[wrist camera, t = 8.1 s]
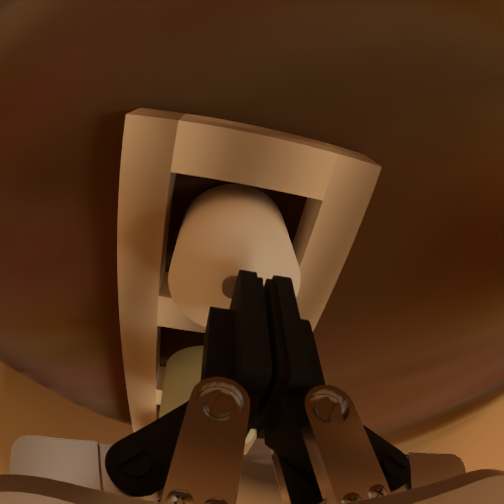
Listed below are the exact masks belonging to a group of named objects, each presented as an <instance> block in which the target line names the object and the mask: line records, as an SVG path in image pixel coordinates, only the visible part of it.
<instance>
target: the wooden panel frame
mask: <svg viewBox="0 0 504 504" xmlns="http://www.w3.org/2000/svg"><path fill="white" fill-rule="evenodd" d="M381 168H382V167H381V166H380V165H378V164H377V163H376V162H374V161H373V160H372V159H370V158H369V157H367V156H366V155H365V154H362V153H359V152H356V151H353V150H349V149H346V148H342V147H339V146H335V145H332V144H328V143H325V142H321V141H317V140H314V139H310V138H306V137H302V136H298V135H294V134H290V133H286V132H281V131H277V130H273V129H268V128H264V127H259V126H254V125H249V124H244V123H239V122H234V121H229V120H223V119H217V118H212V117H206V116H199V115H193V114H186V113H179V112H172V111H164V110H156V109H147V108H139V109H136V110H134V111H132V112H130V113H127V114H126V117H125V125H124V134H123V143H122V154H121V165H120V179H119V196H118V224H117V273H118V301H119V319H120V332H121V344H122V355H123V364H124V373H125V381H126V389H127V396H128V403H129V409H130V415H131V421H132V427H133V432H136V431H138V430H139V429H141V428H143V427H145V426H146V425H148V424H150V423H152V422H153V421H155V420H157V419H159V405H160V404H161V397H162V390H163V382H164V375H165V369H166V367H165V366H160V342H161V326H162V327H168V328H174V329H181V330H188V331H195V332H202V333H205V331H206V327H204V326H201V325H199V324H197V323H195V322H194V321H192V320H191V319H189V318H188V317H187V316H186V315H184V314H183V313H182V312H181V310H180V309H179V308H178V307H177V305H176V304H175V302H174V301H173V299H172V297H171V294H170V291H169V285H168V274H169V272H166V271H165V265H166V254H167V244H168V234H169V225H170V217H171V208H172V200H173V193H174V185H175V178H176V173H180V174H186V175H193V176H199V177H205V178H211V179H217V180H222V181H228V182H234V183H239V184H244V185H250V186H255V187H260V188H265V189H270V190H275V191H280V192H285V193H290V194H295V195H300V196H304V197H307V200H306V203H305V206H304V209H303V212H302V215H301V219H300V222H299V225H298V228H297V231H296V234H295V237H294V240H293V243H292V246H293V250H294V253H295V256H296V259H297V262H298V265H299V269H300V274H301V282H300V288H299V292H298V295H297V297H296V300H297V305H298V309H299V314H300V318H301V319H306V320H309V321H310V324H311V327H312V332H313V331H314V329H315V327H316V325H317V323H318V320H319V318H320V316H321V314H322V312H323V310H324V308H325V306H326V303H327V301H328V299H329V297H330V295H331V292H332V290H333V288H334V286H335V284H336V281H337V279H338V277H339V274H340V272H341V270H342V268H343V265H344V263H345V261H346V258H347V256H348V254H349V251H350V249H351V246H352V244H353V241H354V239H355V237H356V234H357V232H358V229H359V227H360V224H361V222H362V219H363V217H364V214H365V211H366V209H367V206H368V204H369V201H370V198H371V196H372V193H373V190H374V188H375V185H376V182H377V179H378V177H379V174H380V171H381ZM254 431H255V433H254V437H253V438H252V440H251V441H249V442H248V443H247V444H245V447H244V454H243V455H246V454H247V452H248V451H249V449H250V447H251V446H252V444H253V442H254V441H255V439H256V437H257V433H256V429H254Z"/></svg>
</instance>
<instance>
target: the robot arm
mask: <svg viewBox="0 0 504 504" xmlns="http://www.w3.org/2000/svg"><path fill="white" fill-rule="evenodd" d="M251 429H256V433H257V438H264V439H265V444H266V445H267V446H268V447H269V448H271V457H272V461H273V465H274V469H275V473H276V477H277V481H278V485H279V488H280V492H281V496H282V500H283V503H284V504H504V471H501V470H495V469H482V470H476V471H471V472H468V473H466V471H465V466H464V463H463V462H462V460H461V459H460V458H459V457H457V456H456V455H453V454H436V453H414V452H409V453H408V454H404V453H403V452H401V451H400V450H399V449H397V448H396V447H394V446H393V445H391V444H390V443H389V442H387V441H386V440H384V439H383V438H381V437H380V436H378V435H377V434H375V433H374V432H373V431H371V430H370V429H368V428H367V427H366V426H364V425H363V424H362V422H361V420H360V417H359V415H358V413H357V410H356V408H355V406H354V404H353V402H352V400H351V398H350V397H349V396H348V395H347V394H346V393H345V392H344V391H342V390H341V389H339V388H337V387H334V386H330V385H325V382H324V377H323V373H322V369H321V365H320V360H319V356H318V352H317V348H316V344H315V340H314V336H313V332H312V327H311V324H310V321H309V320H306V319H301V318H300V314H299V309H298V305H297V300H296V296H295V292H294V287H293V283H292V279H291V278H290V277H283V276H277V275H274V276H273V277H272V279H268V278H267V279H266V281H265V284H264V285H263V278H261V277H257V272H252V271H246V270H239V272H238V276H237V280H236V284H235V288H234V292H233V296H232V300H231V304H230V308H229V309H224V308H218V307H211V306H210V309H209V314H208V319H207V325H206V331H205V338H204V347H203V357H202V369H201V381H200V382H199V383H198V384H197V385H195V386H194V388H193V390H192V392H191V395H190V399H189V400H188V401H187V402H185V403H184V404H182V405H180V406H179V407H177V408H175V409H174V410H172V411H170V412H169V413H167V414H165V415H164V416H162V417H160V418H159V419H157V420H155V421H153V422H152V423H150V424H148V425H146V426H145V427H143V428H141V429H139V430H138V431H136V432H134V433H132V434H130V435H129V436H127V437H125V438H123V439H121V440H120V441H118V442H116V443H115V444H98V441H86V440H71V439H60V438H52V437H43V436H36V435H25V436H22V437H20V438H18V439H17V440H16V441H15V442H14V444H13V445H12V449H11V452H10V472H9V474H8V475H5V474H3V475H0V504H236V500H237V494H238V487H239V481H240V474H241V468H242V461H243V454H244V447H245V440H246V437H247V435H248V433H249V432H250V430H251Z"/></svg>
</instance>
